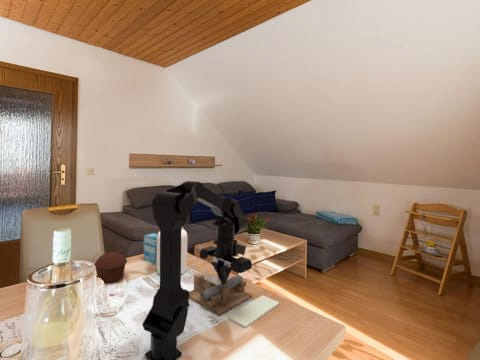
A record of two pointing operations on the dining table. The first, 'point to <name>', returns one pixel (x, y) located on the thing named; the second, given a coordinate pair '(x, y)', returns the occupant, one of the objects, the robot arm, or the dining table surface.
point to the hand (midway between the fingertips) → (223, 283)
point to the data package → (150, 248)
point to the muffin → (110, 267)
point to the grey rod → (217, 288)
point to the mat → (253, 311)
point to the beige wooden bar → (213, 279)
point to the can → (183, 251)
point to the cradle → (221, 301)
